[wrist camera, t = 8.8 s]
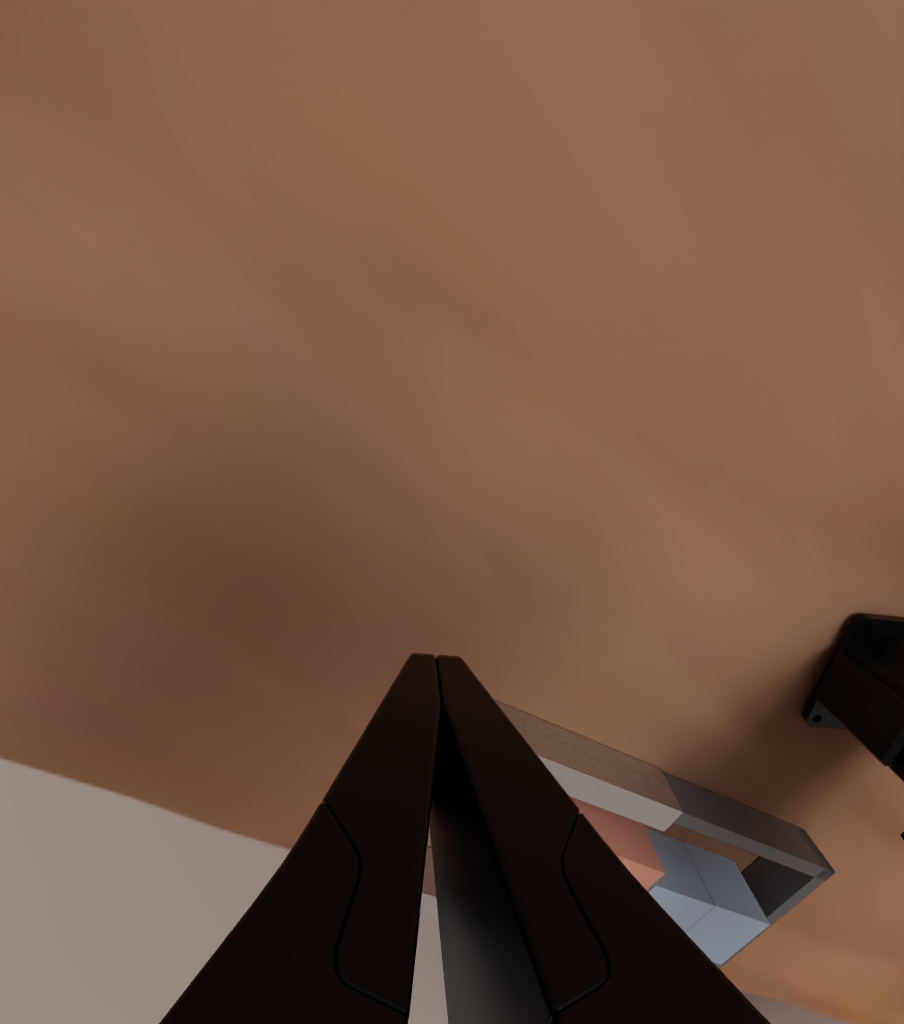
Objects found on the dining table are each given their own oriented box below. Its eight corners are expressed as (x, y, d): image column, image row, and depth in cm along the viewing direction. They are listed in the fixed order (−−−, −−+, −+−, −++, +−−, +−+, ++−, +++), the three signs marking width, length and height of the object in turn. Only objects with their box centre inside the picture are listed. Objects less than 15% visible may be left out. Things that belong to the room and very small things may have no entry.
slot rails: (660, 768, 27) (683, 812, 25) (537, 900, 31) (546, 949, 28) (466, 688, 24) (472, 729, 22) (355, 844, 28) (350, 893, 25)
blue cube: (682, 840, 30) (714, 906, 26) (640, 881, 31) (666, 948, 28) (628, 819, 29) (655, 885, 25) (587, 862, 30) (608, 930, 27)
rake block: (637, 808, 28) (665, 873, 25) (584, 862, 30) (604, 929, 27) (535, 767, 27) (551, 831, 23) (484, 825, 28) (493, 893, 25)
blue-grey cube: (732, 858, 30) (770, 924, 27) (689, 897, 32) (721, 964, 28) (683, 839, 30) (715, 905, 26) (640, 880, 31) (667, 948, 28)
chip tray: (804, 829, 30) (835, 872, 27) (677, 942, 33) (695, 987, 31) (660, 770, 27) (681, 812, 25) (539, 899, 31) (548, 946, 28)
